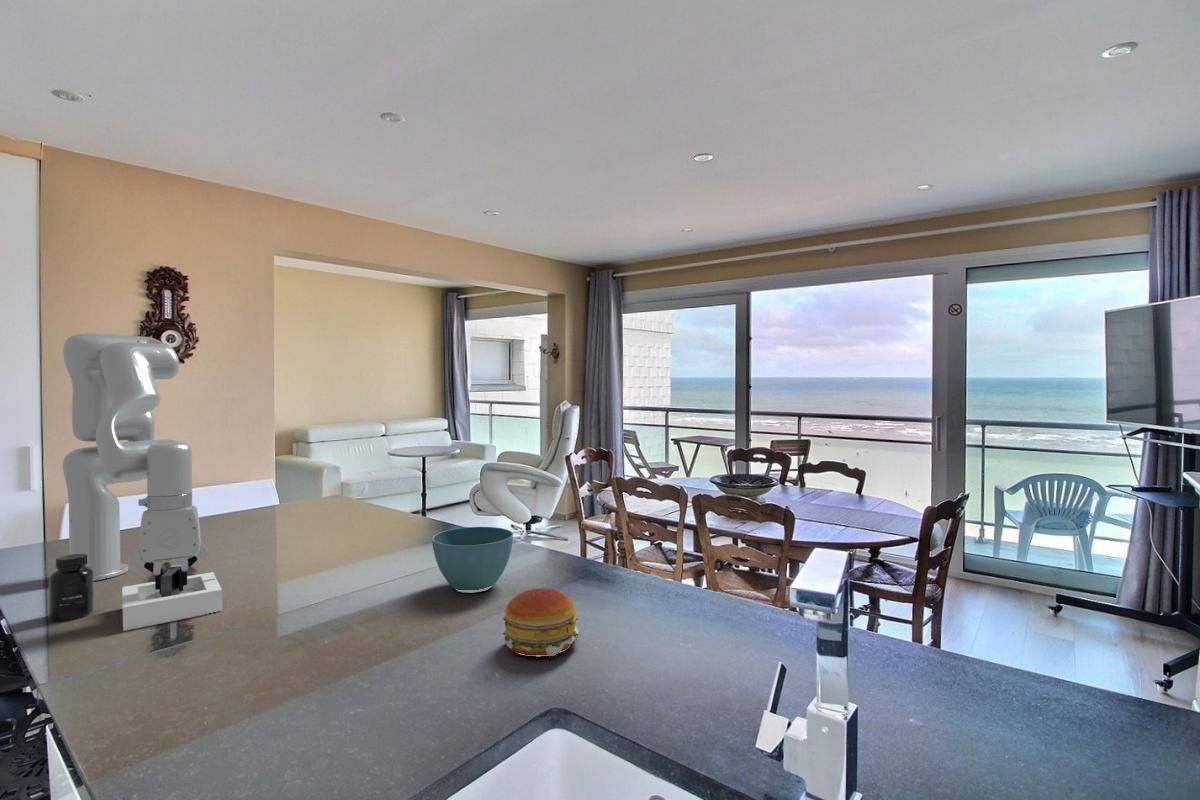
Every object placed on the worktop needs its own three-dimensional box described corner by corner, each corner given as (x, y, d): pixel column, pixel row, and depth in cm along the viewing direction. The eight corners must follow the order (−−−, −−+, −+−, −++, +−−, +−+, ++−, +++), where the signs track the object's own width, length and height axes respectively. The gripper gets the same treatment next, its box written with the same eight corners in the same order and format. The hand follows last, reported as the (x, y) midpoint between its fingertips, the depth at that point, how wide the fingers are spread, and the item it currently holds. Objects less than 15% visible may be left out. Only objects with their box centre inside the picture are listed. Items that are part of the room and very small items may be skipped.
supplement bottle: (67, 623, 117) (66, 562, 116) (39, 620, 118) (38, 560, 118) (103, 610, 123) (102, 553, 123) (76, 608, 125) (75, 551, 125)
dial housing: (122, 608, 125) (122, 586, 125) (213, 591, 135) (213, 571, 135) (123, 631, 113) (122, 606, 113) (222, 611, 123) (222, 588, 123)
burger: (495, 638, 110) (494, 584, 110) (564, 626, 115) (564, 575, 115) (514, 670, 98) (514, 609, 97) (590, 655, 103) (590, 598, 103)
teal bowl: (415, 595, 132) (415, 540, 132) (463, 572, 149) (463, 523, 149) (485, 606, 126) (484, 548, 125) (527, 580, 142) (527, 529, 142)
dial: (191, 606, 121) (190, 573, 121) (137, 612, 118) (137, 578, 118) (203, 592, 130) (202, 561, 129) (153, 597, 126) (153, 565, 126)
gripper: (118, 510, 116) (119, 604, 116) (217, 501, 125) (218, 588, 125) (122, 503, 122) (124, 593, 122) (216, 495, 131) (217, 579, 131)
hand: (171, 590), depth 124 cm, fingers closed on dial, 2 cm apart
